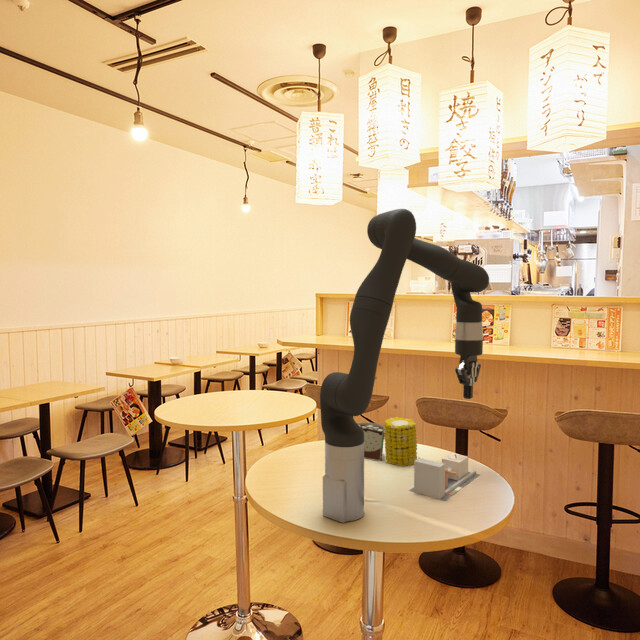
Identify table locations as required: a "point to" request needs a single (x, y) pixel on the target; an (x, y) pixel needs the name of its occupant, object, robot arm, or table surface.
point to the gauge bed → (437, 480)
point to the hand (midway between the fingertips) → (468, 398)
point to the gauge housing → (456, 465)
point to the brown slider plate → (447, 476)
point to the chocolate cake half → (373, 440)
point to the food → (400, 441)
